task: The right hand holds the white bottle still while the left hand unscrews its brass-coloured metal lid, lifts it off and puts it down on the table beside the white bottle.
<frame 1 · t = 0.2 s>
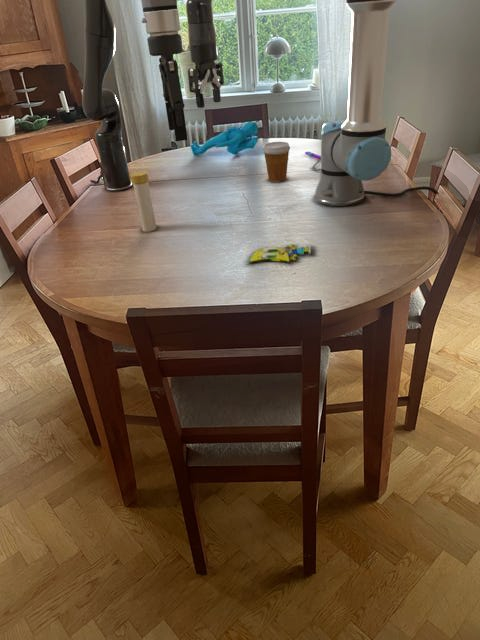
left hand: (209, 104, 142), 29 cm above the table, tool pointing down, fingers open, 8 cm apart
right hand: (178, 134, 118), 28 cm above the table, tool pointing down, fingers open, 13 cm apart
lid: (138, 174, 133), point 16 cm above the table, screwed on, not yet turned
white bottle: (149, 229, 142), on the table
disposable coffee cup: (277, 179, 172), on the table
toy: (225, 154, 209), on the table
toy 2: (280, 255, 120), on the table
checkered curved strip: (322, 163, 185), on the table
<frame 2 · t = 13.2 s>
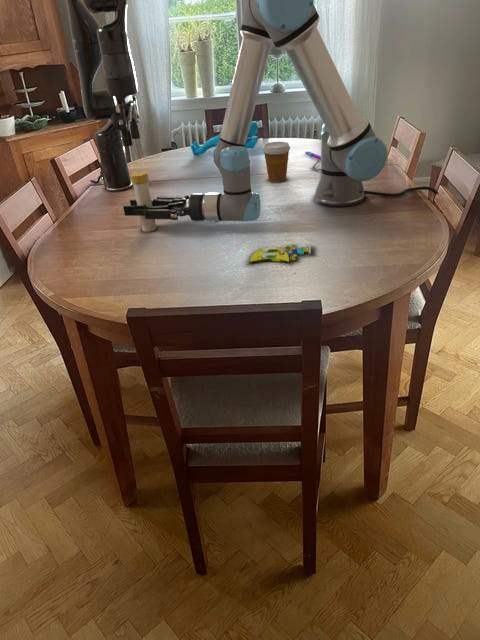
left hand: (132, 142, 128), 25 cm above the table, tool pointing down, fingers open, 7 cm apart
right hand: (128, 207, 139), 7 cm above the table, tool horizontal, fingers closed on white bottle, 4 cm apart
white bottle: (149, 229, 142), on the table, touching right hand
everything else where it was.
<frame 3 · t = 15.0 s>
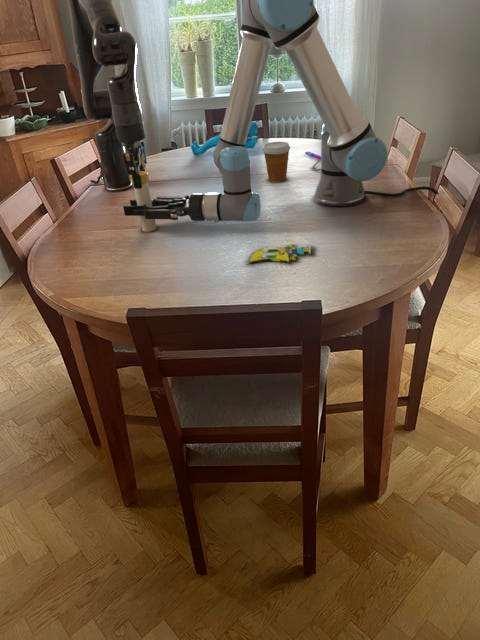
left hand: (140, 184, 135), 13 cm above the table, tool pointing down, fingers closed on lid, 5 cm apart
right hand: (128, 207, 139), 7 cm above the table, tool horizontal, fingers closed on white bottle, 4 cm apart
lid: (138, 174, 133), point 16 cm above the table, screwed on, not yet turned, touching left hand
white bottle: (149, 229, 142), on the table, touching right hand
everything else where it was.
when the left hand's fingers open (13 cm above the table, at t = 16.6 s): lid stays where it is, point 16 cm above the table.
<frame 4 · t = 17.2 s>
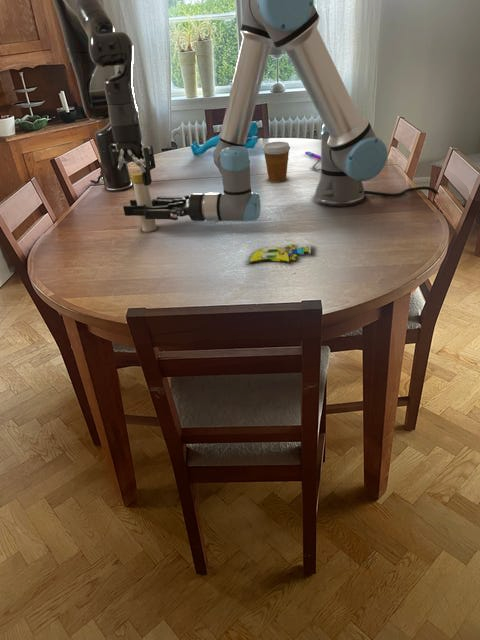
left hand: (137, 183, 134), 14 cm above the table, tool pointing down, fingers open, 7 cm apart
right hand: (128, 207, 139), 7 cm above the table, tool horizontal, fingers closed on white bottle, 4 cm apart
lid: (138, 173, 133), point 16 cm above the table, turned 90° so far, risen 0.2 cm, still on its thread
white bottle: (149, 229, 142), on the table, touching right hand
everything else where it was.
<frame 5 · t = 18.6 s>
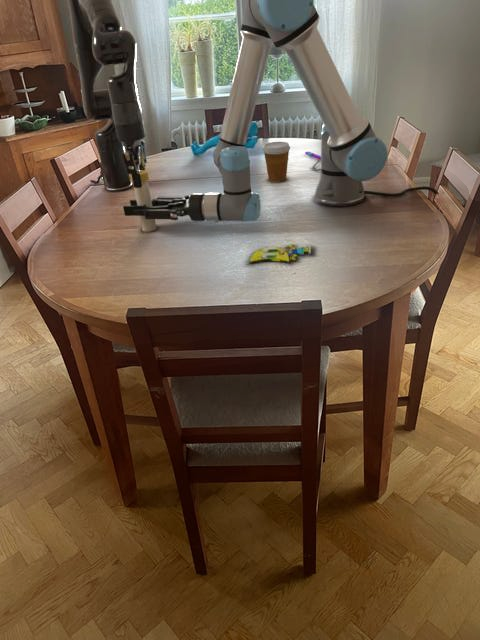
left hand: (140, 184, 135), 13 cm above the table, tool pointing down, fingers closed on lid, 5 cm apart
right hand: (128, 207, 139), 7 cm above the table, tool horizontal, fingers closed on white bottle, 4 cm apart
lid: (138, 173, 133), point 16 cm above the table, turned 90° so far, risen 0.2 cm, still on its thread, touching left hand
white bottle: (149, 229, 142), on the table, touching right hand
everything else where it was.
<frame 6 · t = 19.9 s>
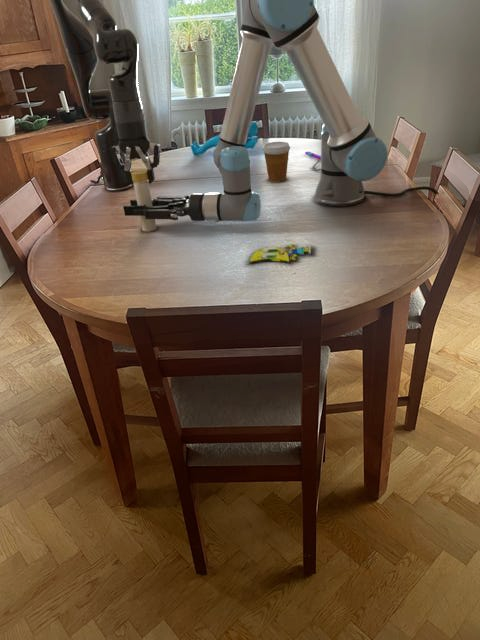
left hand: (141, 182, 134), 14 cm above the table, tool pointing down, fingers closed on lid, 5 cm apart
right hand: (128, 207, 139), 7 cm above the table, tool horizontal, fingers closed on white bottle, 4 cm apart
lid: (139, 172, 133), point 17 cm above the table, off its thread, touching left hand
white bottle: (149, 228, 142), on the table, touching right hand
everything else where it was.
when the left hand's fingers open (0 cm above the table, at t = 25.1 s): lid drops 2 cm, point 2 cm above the table.
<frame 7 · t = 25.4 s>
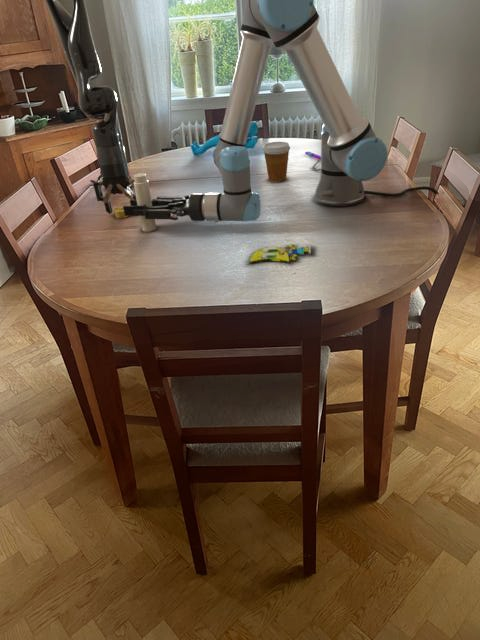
left hand: (122, 212, 153), 1 cm above the table, tool pointing down, fingers open, 7 cm apart
right hand: (128, 207, 139), 7 cm above the table, tool horizontal, fingers closed on white bottle, 4 cm apart
lid: (122, 210, 153), point 2 cm above the table, off its thread
white bottle: (149, 228, 142), on the table, touching right hand
everything else where it was.
when the right hand's fingers open (7 cm above the table, at t = 26.0 s): white bottle stays where it is, on the table.
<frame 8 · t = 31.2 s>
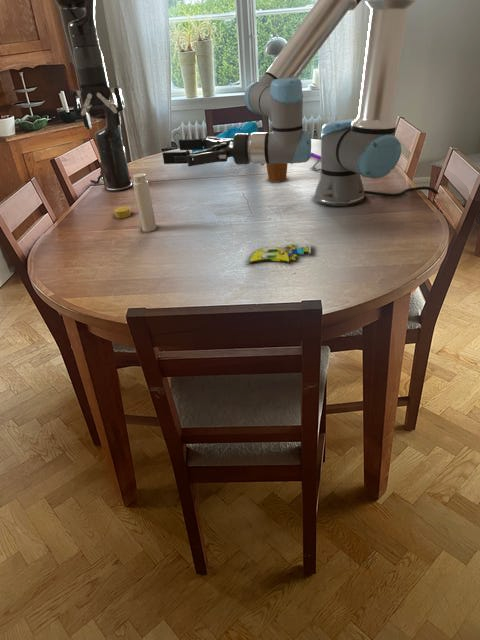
left hand: (104, 127, 139), 27 cm above the table, tool pointing down, fingers open, 8 cm apart
right hand: (171, 151, 128), 22 cm above the table, tool horizontal, fingers open, 13 cm apart
white bottle: (149, 229, 142), on the table
everything else where it was.
at the end: lid came off its thread; lid point 1.8 cm above the table; the left hand is holding nothing; the right hand is holding nothing; white bottle tilted 0°; white bottle moved 0.0 cm from its start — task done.
